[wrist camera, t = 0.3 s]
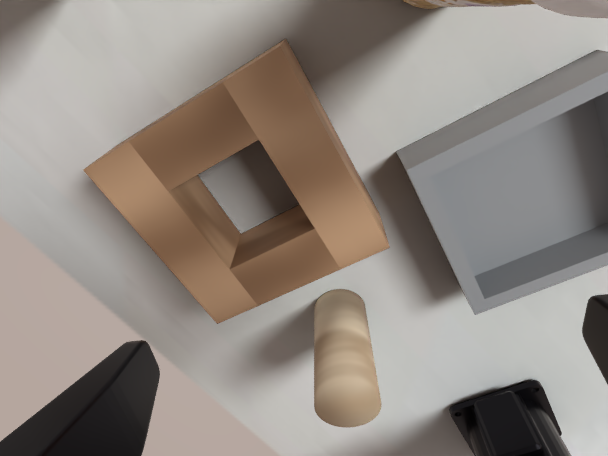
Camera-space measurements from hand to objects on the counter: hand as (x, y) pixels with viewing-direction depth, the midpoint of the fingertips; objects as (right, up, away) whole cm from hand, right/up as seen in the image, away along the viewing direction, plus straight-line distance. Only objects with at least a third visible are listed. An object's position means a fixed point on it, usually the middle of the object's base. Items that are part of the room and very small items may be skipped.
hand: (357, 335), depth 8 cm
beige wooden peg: (+1, -3, +17) cm, 18 cm away
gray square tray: (+10, +4, +13) cm, 17 cm away
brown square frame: (-4, +5, +13) cm, 14 cm away
